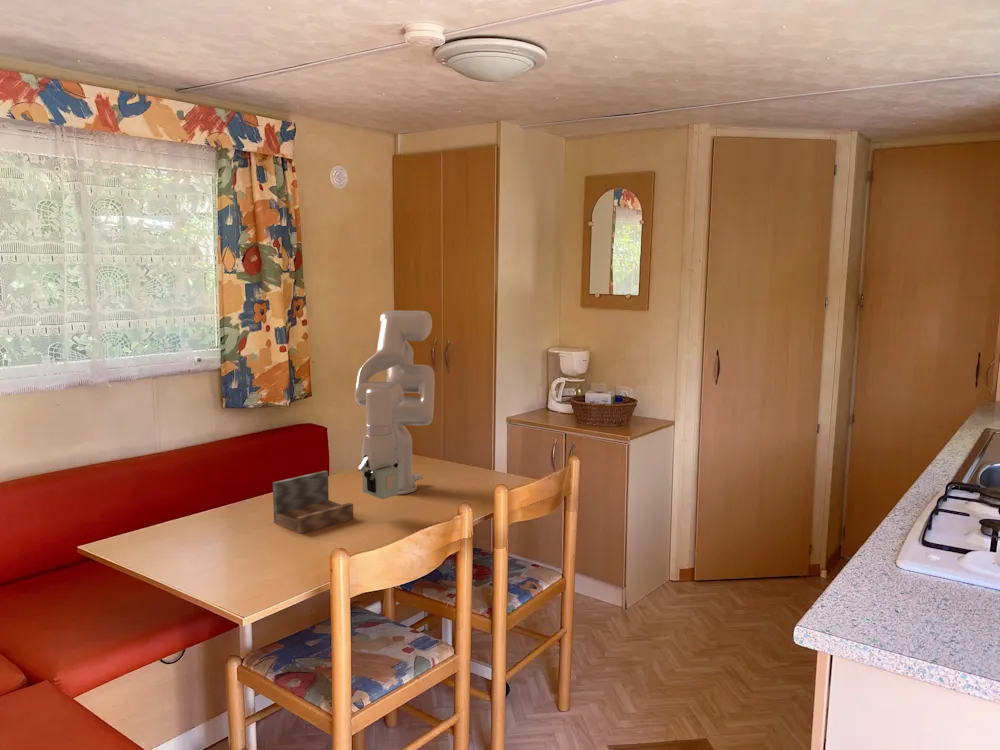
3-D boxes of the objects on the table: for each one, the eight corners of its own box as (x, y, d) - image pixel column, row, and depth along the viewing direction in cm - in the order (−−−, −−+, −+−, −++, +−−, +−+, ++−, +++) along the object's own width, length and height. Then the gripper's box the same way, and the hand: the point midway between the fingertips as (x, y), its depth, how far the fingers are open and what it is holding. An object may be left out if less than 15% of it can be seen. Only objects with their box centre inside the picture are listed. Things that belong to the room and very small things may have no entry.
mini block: (378, 487, 234) (378, 461, 232) (399, 494, 228) (398, 468, 226) (363, 492, 229) (362, 466, 228) (383, 499, 223) (382, 472, 222)
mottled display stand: (325, 508, 238) (324, 470, 237) (353, 518, 229) (352, 479, 228) (273, 522, 225) (272, 482, 223) (301, 533, 216) (300, 492, 214)
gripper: (393, 422, 234) (394, 479, 237) (347, 432, 221) (348, 493, 225) (410, 426, 229) (411, 484, 232) (363, 437, 216) (365, 499, 220)
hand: (380, 488), depth 228 cm, fingers closed on mini block, 6 cm apart
